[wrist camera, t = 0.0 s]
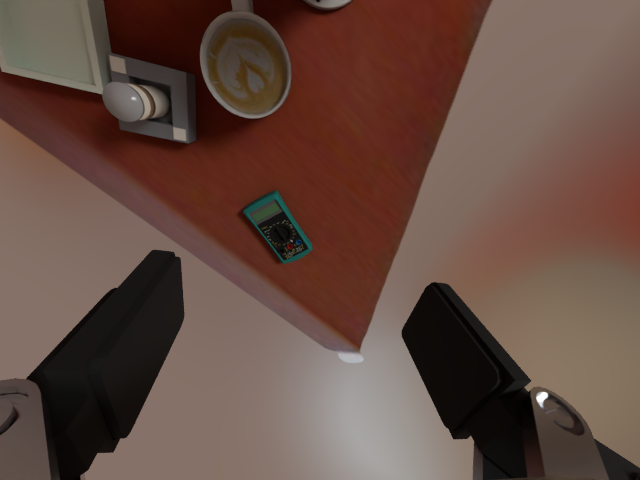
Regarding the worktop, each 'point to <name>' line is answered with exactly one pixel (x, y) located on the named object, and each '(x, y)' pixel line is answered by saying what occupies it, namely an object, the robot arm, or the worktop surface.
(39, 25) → the parts tray
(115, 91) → the cylinder
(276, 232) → the digital multimeter
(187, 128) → the fuse holder
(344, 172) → the worktop surface
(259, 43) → the coffee mug
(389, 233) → the worktop surface
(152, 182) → the worktop surface
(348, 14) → the worktop surface
